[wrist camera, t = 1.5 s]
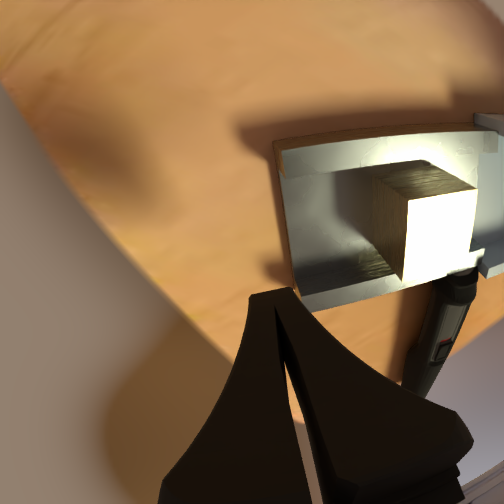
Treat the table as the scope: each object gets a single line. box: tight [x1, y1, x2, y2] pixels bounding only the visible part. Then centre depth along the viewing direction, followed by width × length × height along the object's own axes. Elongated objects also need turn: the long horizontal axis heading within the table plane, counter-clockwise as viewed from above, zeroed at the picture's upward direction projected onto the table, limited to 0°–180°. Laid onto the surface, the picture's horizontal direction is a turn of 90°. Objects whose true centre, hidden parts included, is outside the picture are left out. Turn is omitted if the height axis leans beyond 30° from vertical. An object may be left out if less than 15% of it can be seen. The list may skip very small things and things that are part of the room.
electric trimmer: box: [401, 266, 478, 399], centre depth 20 cm, size 4×16×3 cm, turn 6°
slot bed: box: [273, 123, 499, 313], centre depth 15 cm, size 12×8×2 cm
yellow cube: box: [372, 166, 478, 283], centre depth 14 cm, size 4×4×4 cm
